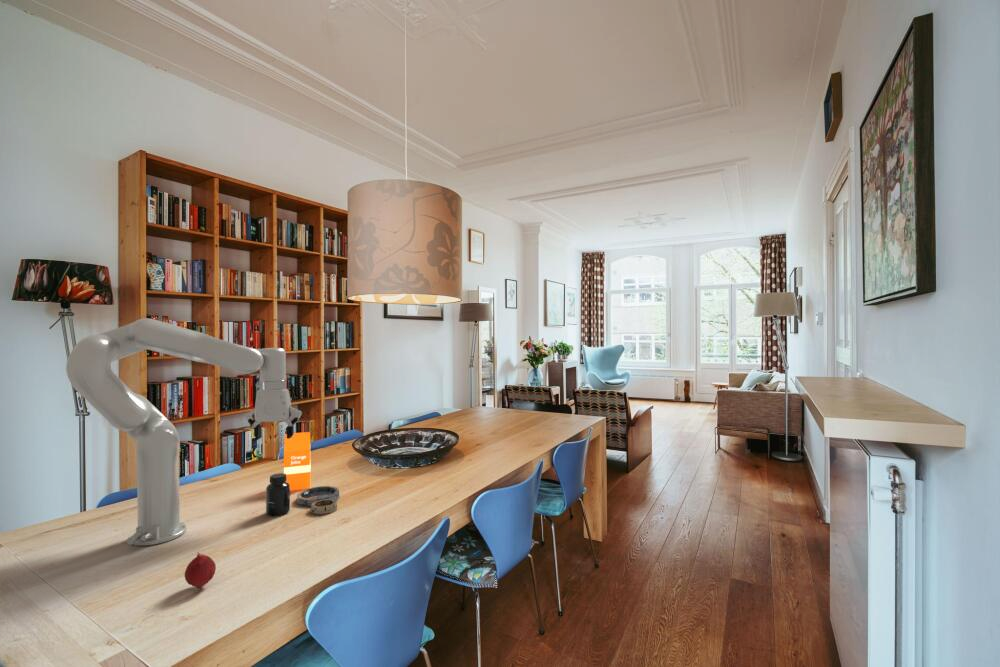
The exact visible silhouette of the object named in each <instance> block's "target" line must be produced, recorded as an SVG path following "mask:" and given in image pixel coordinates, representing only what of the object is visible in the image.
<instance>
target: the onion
mask: <svg viewBox="0 0 1000 667" xmlns="http://www.w3.org/2000/svg"><path fill="white" fill-rule="evenodd" d="M216 567H217V566H216V563H215V561H214V560H213V558H211V557H210V556H209V555H206V554H203V553H202V552H201V551H198V552H197V554H196V556H195V558H193V559H192V560H191V561H190V562H189V563H188V564H187V566H186V569H185V570H184V571H185V572H184V579H185V581H186V582H187V584H188V585H191V586H192V587H194V588H197V589H201V588H203V587H204V586H205V585H207V584H208V583H209V582H210V581H211V580H212V579H213V578H214V577H215V576H214V575H215V573H216Z"/></svg>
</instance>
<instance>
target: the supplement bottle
mask: <svg viewBox="0 0 1000 667" xmlns="http://www.w3.org/2000/svg"><path fill="white" fill-rule="evenodd" d="M286 480H287V478H286V474H284V472H283V473H282V472H281V473H280V472H278V473H273V474H272V475H269V484H267V486H266V488H265V490H266V491H265V513H266V515H267V516H268V517H281V516H284V515H287V514H288V513H289V511H290V510H291V509H290V508H291V505H290V504H291V501H290V500H291V499H290V498H291V490H290V485H289V483H288V482H286Z"/></svg>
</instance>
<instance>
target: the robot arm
mask: <svg viewBox="0 0 1000 667" xmlns="http://www.w3.org/2000/svg"><path fill="white" fill-rule="evenodd" d="M145 350H149V351H152V352H157V353H159V354H160V353H161V354H164V355H169V356H172V357H175V358H176V357H177V358H181V359H185V360H189V361H193V362H195V363H203V364H209V365H213V366H218V367H222V368H225V369H231V370H234V371H238V372H242V373H245V374H252V373H256V372H258V371H259V381H258V382H255V387H257V388H259V390H256V391H257V392H256V397H255V403H254V409H251V410H250V411H248V412H246V413H244V416H245V418H246V420H247V422H248V423H249V424H250V425H251V427H252V428H253V437H254V439H255V441H258V440H260V439H261V438H262V436H263V435H262V430H263V429H262V425H261V424H262V423H270V422H271V423H273V422H274V423H275V422H277V423H278V422H285V424H286V425H287V426H286V434H287V439H290V438H291V437H292V435H293V434H294V433H295V430H294V428H295V426H294V425H295V424H296V423H297V422H298V421H299V420H300V418H301V416H302V414H303V412H302V411H301V410H299V409H297V408H295V407H293V406H292V401H291V394H290V391H289V389H288V388H287V363H286V362H287V357H286V355H287V352H286V350H285V348H282V347H265V348H252V347H248V346H246V345H242V344H237V343H234V342H230V341H226V340H224V339H220V338H217V337H214V336H212V335H210V334H206V333H205V332H204V333H203V332H200V331H197V330H193V329H189V328H185V327H183V326H178V325H175V324H173V323H168V322H164V321H161V320H158V319H154V318H147V317H145V318H140V319H138V320H135V321H134V322H131V323H128V324H126V325H123V326H119V327H117V328H113V329H111V330H107V331H105V332H101V333H97V334H92V335H89V336H86V337H84V338H82V339H79V341H78V342H77V343H76V344H75V345H74V347H73V348H72V350H71V351H70V353H69V355H68V358H67V361H66V365H65V367H66V368H65V369H66V375H67V378H68V381H69V383H70V384H71V386H72V387H73V388H74V390H75V391H77V393H79V395H80V396H82V398H84V400H86V402H88V403H89V405H91V406H92V408H94V409H95V410H96V411H97V412H98V413H99V414H100V415H101V416H102V417H103V418H104V419H105V420H106V422H108V423H109V425H111V426H112V427H114V428H115V429H117V430H119V431H123V432H124V433H126V434H127V436H129V437H130V438H131V439H132V440H133V441H134V442H136V485H137V489H136V490H137V492H136V493H137V496H136V497H137V526H136V527H135V532H134V533H133V534H132V535H131V536H129V537H128V538H127V539H126V544H128V545H134V546H142V547H143V546H152V545H158V544H162V543H166V542H169V541H172V540H174V539H177V538H179V537H181V536H182V535H183V534H184V533H186V531H187V525H186V524H185V523H182V522H180V521H181V520H180V518H181V517H180V516H181V515H180V513H181V512H180V510H181V509H180V506H181V505H180V503H181V502H180V453H181V452H180V450H181V442H180V440H181V438H180V434H179V432H178V430H177V428H176V427H175V425H174V424H173V423H172V421H170V420H169V419H168V418H167V417H166V416H165V414H163V413H162V412H161V411H160V410H159V409H158V408H157V407H156V406H155V405H154V404H153V403H152V402H150V401H149V400H148V399H147V398H146V397H145V396H143V395H141V394H139V393H135V392H134V391H133V390H132V389H131V388H129V387H128V386H127V385H126V384H125V383H124V381H123V380H122V379H121V378H120V377H119V376H117V374H115V372H114V371H113V370H112V366H111V364H112V363H113V362H116V361H119V360H120V359H121V360H122V359H123V358H124V359H125V358H126V357H129V356H131V355H134V354H137V353H140V352H142V351H145ZM292 413H293V414H295V417H294V418H292ZM253 415H254V418H253Z"/></svg>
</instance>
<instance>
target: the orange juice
mask: <svg viewBox="0 0 1000 667" xmlns="http://www.w3.org/2000/svg"><path fill="white" fill-rule="evenodd" d="M283 446H284V448H283V473H284V474H286V478H287V480H286V482H288V483H289V485H290V491H296V490H306V489H309V488H311V481H312V480H311V478H312V477H311V473H312V472H311V464H312V463H311V462H312V461H311V432H310V431H305V432H294V434H293V435H292V437H291V438H290V439H287V433H285V434H284V445H283Z"/></svg>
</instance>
